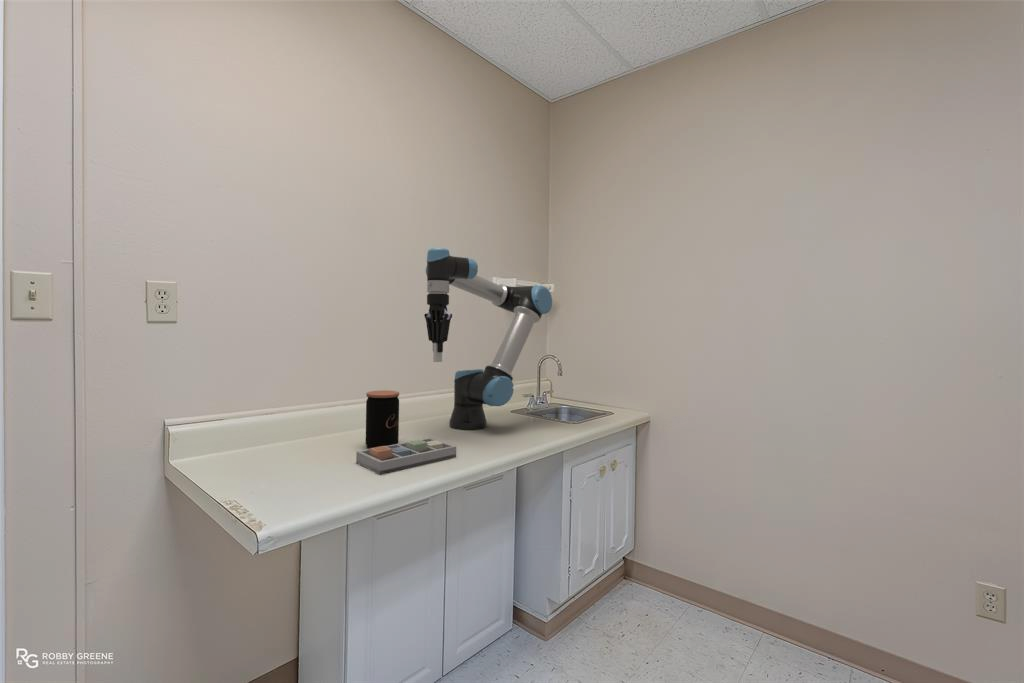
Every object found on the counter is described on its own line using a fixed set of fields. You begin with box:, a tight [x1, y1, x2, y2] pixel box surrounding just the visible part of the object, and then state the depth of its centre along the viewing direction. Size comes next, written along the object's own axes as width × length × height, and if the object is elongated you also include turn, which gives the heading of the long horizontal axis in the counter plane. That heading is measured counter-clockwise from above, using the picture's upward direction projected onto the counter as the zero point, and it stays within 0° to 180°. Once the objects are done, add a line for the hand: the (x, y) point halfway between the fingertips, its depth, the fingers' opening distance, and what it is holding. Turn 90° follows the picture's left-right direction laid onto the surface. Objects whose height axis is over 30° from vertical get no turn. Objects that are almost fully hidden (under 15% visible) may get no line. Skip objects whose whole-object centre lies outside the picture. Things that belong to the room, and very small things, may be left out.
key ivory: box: [427, 440, 443, 449], centre depth 145 cm, size 5×5×3 cm
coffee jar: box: [365, 389, 400, 449], centre depth 153 cm, size 11×11×18 cm
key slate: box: [392, 447, 410, 457], centre depth 136 cm, size 5×5×2 cm
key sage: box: [405, 439, 427, 452], centre depth 141 cm, size 5×5×3 cm
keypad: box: [355, 437, 457, 476], centre depth 139 cm, size 26×14×3 cm, turn 135°
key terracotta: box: [369, 446, 392, 460], centre depth 132 cm, size 5×5×3 cm
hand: (437, 361), depth 159 cm, fingers closed
